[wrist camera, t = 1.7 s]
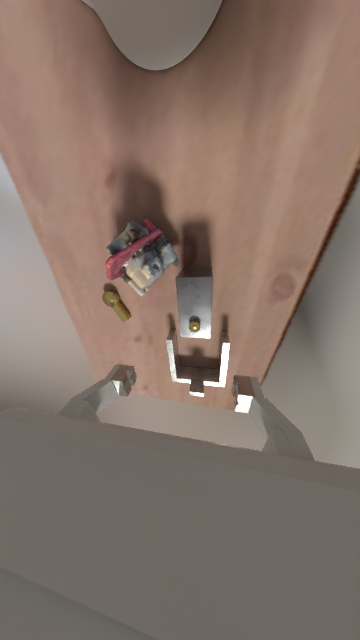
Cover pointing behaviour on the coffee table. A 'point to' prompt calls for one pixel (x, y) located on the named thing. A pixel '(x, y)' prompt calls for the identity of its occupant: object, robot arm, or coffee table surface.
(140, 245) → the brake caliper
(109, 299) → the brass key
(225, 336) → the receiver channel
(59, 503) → the robot arm
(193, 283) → the block
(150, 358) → the coffee table surface
